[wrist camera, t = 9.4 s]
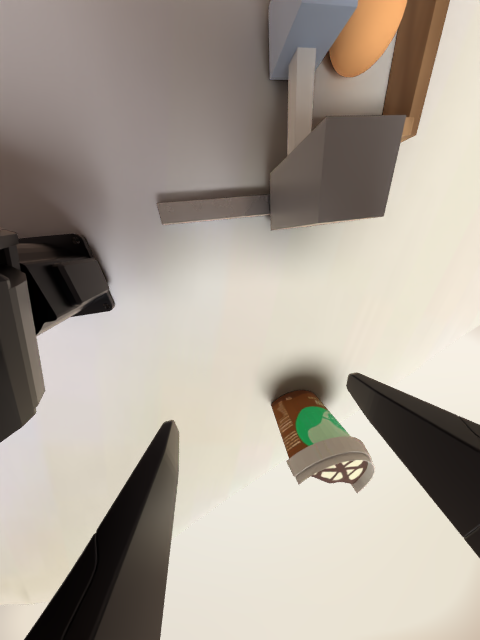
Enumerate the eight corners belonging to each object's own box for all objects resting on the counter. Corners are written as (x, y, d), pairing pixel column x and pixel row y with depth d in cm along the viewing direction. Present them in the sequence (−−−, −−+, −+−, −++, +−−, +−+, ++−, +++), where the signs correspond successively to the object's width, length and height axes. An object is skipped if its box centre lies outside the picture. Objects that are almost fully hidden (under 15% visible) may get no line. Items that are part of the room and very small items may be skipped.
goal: (309, 153, 15) (328, 138, 12) (323, -99, 10) (358, -198, 8) (385, 150, 16) (416, 134, 13) (431, -81, 11) (491, -164, 9)
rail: (164, 224, 15) (162, 223, 14) (159, 205, 14) (156, 203, 13) (324, 209, 17) (331, 208, 16) (326, 192, 16) (333, 189, 15)
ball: (403, 23, 9) (392, 73, 12) (432, -129, 7) (411, -28, 10) (321, 68, 11) (329, 101, 14) (329, -44, 9) (336, 20, 12)
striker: (267, 231, 16) (317, 223, 9) (260, 7, 11) (374, -447, 4) (306, 226, 17) (383, 216, 10) (319, 11, 11) (517, -377, 4)
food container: (338, 398, 30) (397, 465, 21) (314, 421, 31) (359, 493, 22) (289, 373, 25) (338, 447, 16) (263, 401, 26) (295, 484, 17)
